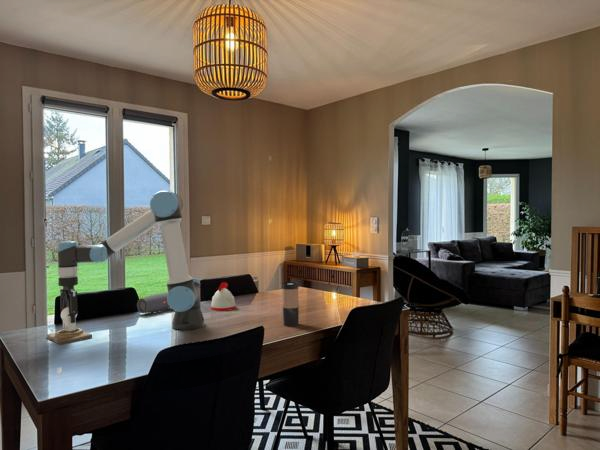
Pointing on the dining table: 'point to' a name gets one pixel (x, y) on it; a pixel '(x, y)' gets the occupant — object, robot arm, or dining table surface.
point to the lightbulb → (65, 317)
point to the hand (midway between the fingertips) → (69, 328)
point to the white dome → (223, 299)
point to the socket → (69, 336)
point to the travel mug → (290, 304)
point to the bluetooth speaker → (153, 303)
